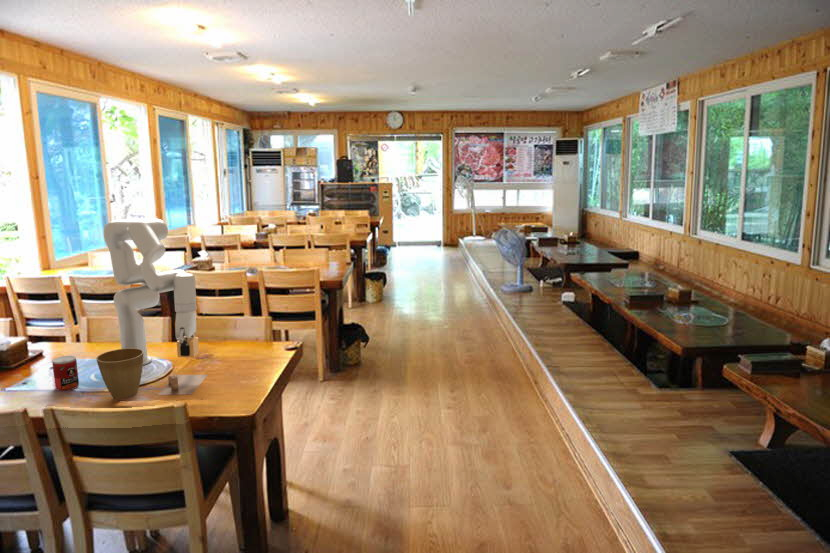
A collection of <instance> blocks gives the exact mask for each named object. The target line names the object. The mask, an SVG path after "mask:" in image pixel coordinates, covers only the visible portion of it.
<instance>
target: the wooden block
mask: <svg viewBox="0 0 830 553" xmlns="http://www.w3.org/2000/svg"><path fill="white" fill-rule="evenodd" d="M184 340H185V341H186V339H184ZM188 345H189V347H190V355H189V356H181V352H180V342H179V339H178V340H177V341H176V352H177V358H195V357H196V356H197V355H198V354H199V352H200V349H199V348H200V347H199V336H195V337H189V343H188Z"/></svg>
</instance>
